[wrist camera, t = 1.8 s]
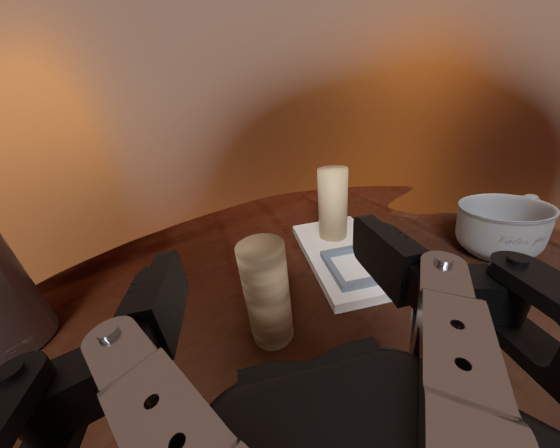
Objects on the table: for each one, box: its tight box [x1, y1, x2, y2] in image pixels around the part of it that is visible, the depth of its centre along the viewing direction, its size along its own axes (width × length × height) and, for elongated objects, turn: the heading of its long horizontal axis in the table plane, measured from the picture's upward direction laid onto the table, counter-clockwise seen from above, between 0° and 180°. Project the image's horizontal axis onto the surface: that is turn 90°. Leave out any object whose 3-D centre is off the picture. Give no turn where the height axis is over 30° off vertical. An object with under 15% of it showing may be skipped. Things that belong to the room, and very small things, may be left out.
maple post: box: [235, 233, 294, 351], centre depth 27 cm, size 5×5×12 cm
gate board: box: [293, 165, 392, 314], centre depth 38 cm, size 22×12×14 cm, turn 11°
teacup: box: [455, 193, 560, 261], centre depth 38 cm, size 14×11×8 cm
